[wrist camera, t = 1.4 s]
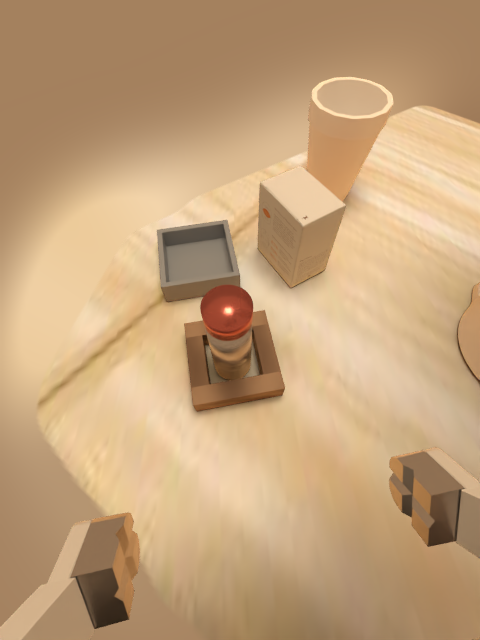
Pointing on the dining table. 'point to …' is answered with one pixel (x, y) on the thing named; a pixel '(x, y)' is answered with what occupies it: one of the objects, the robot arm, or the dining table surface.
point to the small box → (297, 224)
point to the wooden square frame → (240, 388)
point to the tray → (196, 259)
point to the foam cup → (344, 129)
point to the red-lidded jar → (229, 329)
